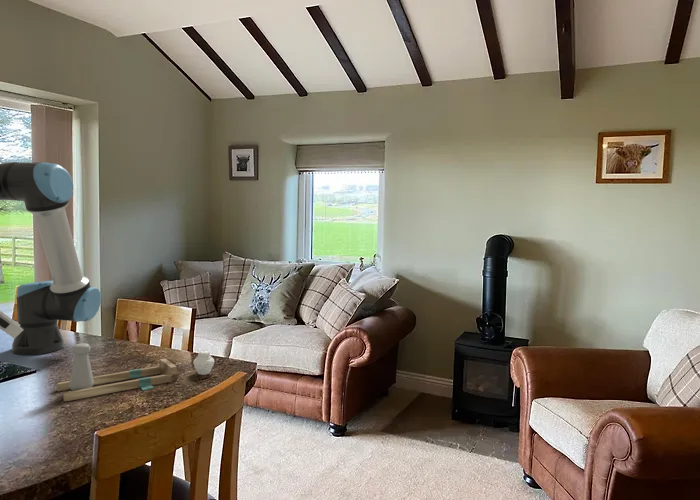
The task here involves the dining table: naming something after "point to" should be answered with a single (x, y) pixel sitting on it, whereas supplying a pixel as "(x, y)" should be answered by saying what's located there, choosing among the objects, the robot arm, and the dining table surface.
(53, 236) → the robot arm
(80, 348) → the salt shaker
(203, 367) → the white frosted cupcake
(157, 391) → the dining table surface
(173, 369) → the guide rails
